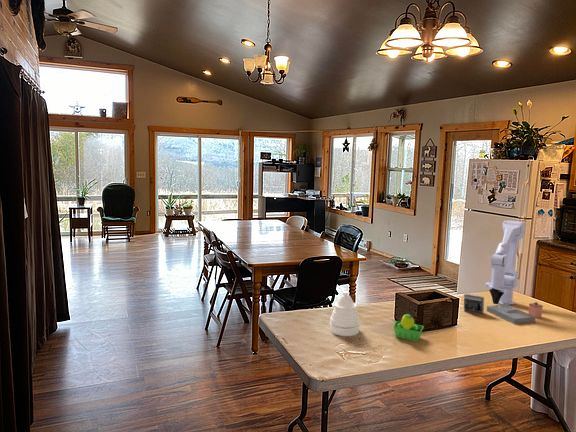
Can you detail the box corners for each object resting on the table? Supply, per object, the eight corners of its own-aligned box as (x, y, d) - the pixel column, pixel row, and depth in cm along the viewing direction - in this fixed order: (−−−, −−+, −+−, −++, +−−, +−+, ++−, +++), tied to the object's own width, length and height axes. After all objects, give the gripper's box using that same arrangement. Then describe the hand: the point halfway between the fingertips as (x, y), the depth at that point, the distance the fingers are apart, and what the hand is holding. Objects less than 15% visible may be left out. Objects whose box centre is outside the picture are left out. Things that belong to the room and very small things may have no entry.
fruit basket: (423, 337, 187) (425, 311, 186) (418, 344, 179) (419, 318, 178) (397, 331, 193) (398, 306, 191) (391, 338, 185) (392, 312, 184)
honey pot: (358, 337, 186) (360, 296, 183) (328, 334, 188) (329, 294, 186) (359, 326, 198) (361, 287, 196) (331, 323, 201) (332, 285, 198)
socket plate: (486, 310, 221) (487, 306, 220) (506, 309, 224) (506, 304, 223) (513, 324, 203) (514, 318, 203) (534, 321, 207) (535, 316, 206)
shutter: (497, 308, 217) (497, 303, 217) (507, 307, 219) (508, 302, 219) (506, 312, 211) (507, 308, 211) (517, 311, 213) (518, 307, 213)
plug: (528, 315, 215) (529, 301, 214) (534, 314, 217) (536, 300, 216) (534, 318, 212) (536, 304, 211) (541, 317, 213) (542, 303, 212)
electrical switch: (483, 312, 218) (484, 295, 216) (481, 316, 214) (483, 298, 212) (464, 308, 223) (464, 291, 221) (461, 312, 219) (462, 295, 217)
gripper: (481, 274, 227) (479, 299, 229) (501, 282, 213) (499, 309, 215) (492, 273, 229) (490, 298, 230) (513, 281, 215) (511, 307, 217)
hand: (495, 303), depth 223 cm, fingers closed
